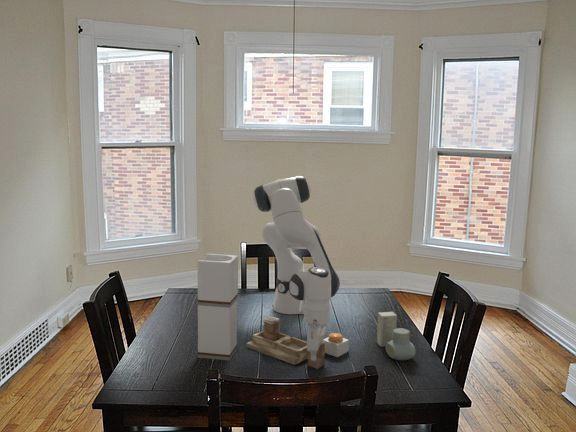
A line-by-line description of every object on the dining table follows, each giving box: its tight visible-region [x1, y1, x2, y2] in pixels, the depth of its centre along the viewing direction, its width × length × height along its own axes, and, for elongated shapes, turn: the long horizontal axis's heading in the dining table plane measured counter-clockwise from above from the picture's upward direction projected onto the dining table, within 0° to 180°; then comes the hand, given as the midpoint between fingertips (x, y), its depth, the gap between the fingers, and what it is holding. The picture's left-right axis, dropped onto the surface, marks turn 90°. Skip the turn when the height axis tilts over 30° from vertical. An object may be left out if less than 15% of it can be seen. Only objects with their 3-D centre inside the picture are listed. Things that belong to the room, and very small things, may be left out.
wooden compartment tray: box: [246, 316, 308, 366], centre depth 209 cm, size 14×23×10 cm, turn 50°
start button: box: [328, 332, 344, 343], centre depth 208 cm, size 5×5×3 cm
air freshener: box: [385, 327, 417, 361], centre depth 205 cm, size 11×8×10 cm
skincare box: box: [376, 311, 398, 347], centre depth 216 cm, size 6×4×12 cm
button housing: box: [322, 336, 350, 358], centre depth 209 cm, size 7×7×4 cm
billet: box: [307, 339, 326, 369], centre depth 197 cm, size 4×4×9 cm
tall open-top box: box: [197, 253, 239, 362], centre depth 203 cm, size 11×11×35 cm
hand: (315, 354), depth 197 cm, fingers open, 8 cm apart
